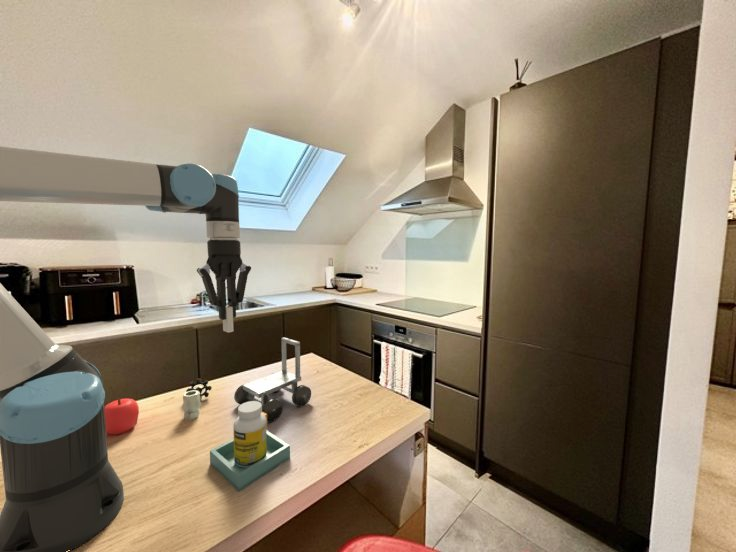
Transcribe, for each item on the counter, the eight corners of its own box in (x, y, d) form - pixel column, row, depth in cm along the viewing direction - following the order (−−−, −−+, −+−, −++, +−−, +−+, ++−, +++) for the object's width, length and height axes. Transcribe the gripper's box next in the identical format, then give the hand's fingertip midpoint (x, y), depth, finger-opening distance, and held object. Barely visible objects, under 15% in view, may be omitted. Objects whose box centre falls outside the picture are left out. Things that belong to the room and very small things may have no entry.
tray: (239, 491, 57) (238, 476, 56) (210, 464, 64) (209, 450, 63) (290, 458, 66) (289, 445, 65) (259, 437, 73) (259, 425, 73)
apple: (132, 417, 81) (130, 388, 80) (147, 426, 77) (145, 396, 76) (94, 432, 74) (91, 401, 73) (108, 443, 70) (105, 410, 69)
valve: (204, 418, 81) (212, 397, 92) (203, 395, 80) (211, 376, 91) (175, 423, 79) (187, 400, 90) (174, 398, 78) (186, 379, 89)
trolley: (264, 426, 77) (263, 358, 76) (234, 406, 87) (232, 346, 85) (311, 402, 90) (310, 343, 88) (280, 387, 99) (279, 334, 97)
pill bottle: (227, 465, 62) (225, 411, 61) (248, 446, 69) (246, 396, 68) (254, 472, 61) (252, 417, 60) (272, 451, 67) (272, 401, 66)
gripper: (202, 238, 69) (207, 340, 71) (255, 239, 79) (259, 328, 81) (189, 239, 74) (195, 333, 76) (241, 239, 83) (245, 323, 86)
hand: (228, 331), depth 78 cm, fingers closed
